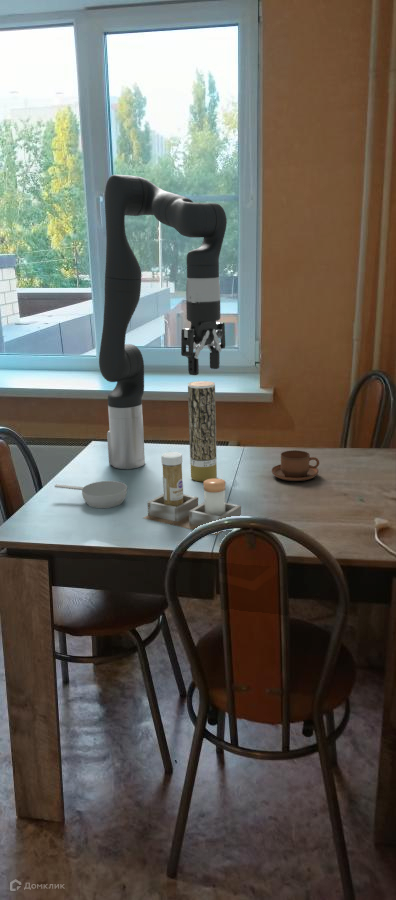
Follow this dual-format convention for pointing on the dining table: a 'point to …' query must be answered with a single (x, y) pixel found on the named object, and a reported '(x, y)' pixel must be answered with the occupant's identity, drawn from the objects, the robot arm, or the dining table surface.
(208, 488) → the white lotion bottle
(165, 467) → the sprinkles bottle
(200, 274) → the robot arm
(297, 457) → the cup and saucer
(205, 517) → the board
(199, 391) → the paper tube
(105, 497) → the small pan
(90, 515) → the dining table surface
